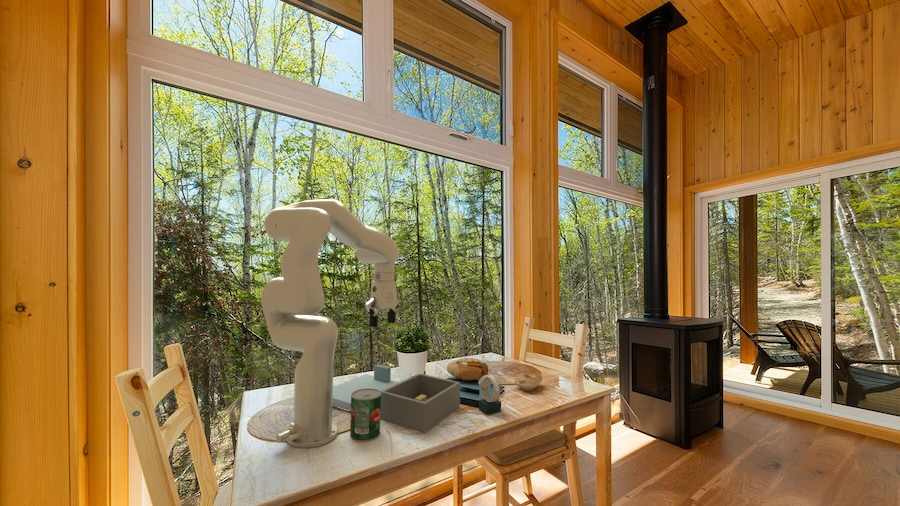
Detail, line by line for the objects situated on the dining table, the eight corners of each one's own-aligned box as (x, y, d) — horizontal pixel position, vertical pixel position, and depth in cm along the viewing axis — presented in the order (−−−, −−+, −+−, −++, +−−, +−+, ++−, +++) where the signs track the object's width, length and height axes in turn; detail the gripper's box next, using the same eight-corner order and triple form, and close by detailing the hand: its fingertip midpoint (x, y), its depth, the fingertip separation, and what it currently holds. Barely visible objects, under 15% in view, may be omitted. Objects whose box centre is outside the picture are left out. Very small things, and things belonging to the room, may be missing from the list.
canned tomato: (348, 430, 100) (349, 390, 100) (376, 425, 103) (377, 386, 103) (352, 444, 92) (353, 401, 92) (383, 439, 95) (384, 397, 96)
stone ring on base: (489, 404, 119) (490, 370, 119) (504, 414, 112) (505, 378, 112) (475, 407, 116) (475, 373, 117) (489, 417, 109) (489, 381, 109)
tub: (424, 433, 99) (425, 403, 99) (379, 419, 107) (379, 391, 107) (459, 407, 116) (460, 382, 116) (418, 396, 124) (419, 373, 124)
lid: (359, 415, 109) (360, 389, 109) (316, 401, 119) (317, 377, 119) (406, 391, 129) (406, 369, 129) (366, 381, 139) (366, 360, 139)
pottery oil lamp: (550, 386, 136) (551, 372, 132) (527, 403, 130) (527, 389, 127) (533, 372, 142) (533, 359, 139) (510, 387, 137) (510, 374, 133)
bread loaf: (506, 386, 137) (475, 397, 128) (469, 368, 155) (440, 376, 146) (506, 366, 137) (476, 375, 128) (470, 349, 154) (441, 357, 145)
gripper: (375, 278, 123) (374, 329, 122) (406, 277, 138) (405, 322, 137) (359, 277, 126) (357, 327, 126) (391, 276, 141) (389, 320, 141)
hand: (382, 324), depth 132 cm, fingers open, 9 cm apart
